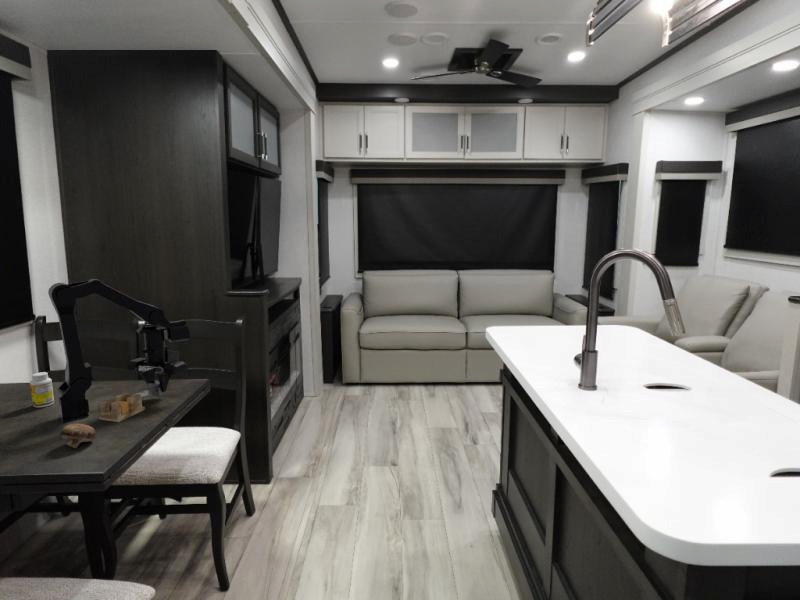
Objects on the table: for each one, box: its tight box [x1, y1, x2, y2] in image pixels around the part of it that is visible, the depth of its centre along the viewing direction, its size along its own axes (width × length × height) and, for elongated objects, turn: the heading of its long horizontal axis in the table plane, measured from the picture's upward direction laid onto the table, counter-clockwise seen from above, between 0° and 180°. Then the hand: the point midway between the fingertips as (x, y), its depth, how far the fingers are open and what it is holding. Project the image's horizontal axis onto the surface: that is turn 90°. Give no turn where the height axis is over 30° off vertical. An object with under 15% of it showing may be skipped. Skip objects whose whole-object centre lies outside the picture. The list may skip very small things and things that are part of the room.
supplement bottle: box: [29, 371, 55, 409], centre depth 158 cm, size 6×6×10 cm
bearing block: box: [98, 392, 146, 423], centre depth 150 cm, size 10×7×5 cm
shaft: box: [130, 380, 166, 399], centre depth 159 cm, size 12×4×4 cm, turn 163°
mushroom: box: [59, 423, 97, 449], centre depth 129 cm, size 8×8×6 cm
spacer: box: [110, 400, 129, 414], centre depth 149 cm, size 2×4×3 cm, turn 73°
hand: (158, 391), depth 164 cm, fingers closed on shaft, 4 cm apart
